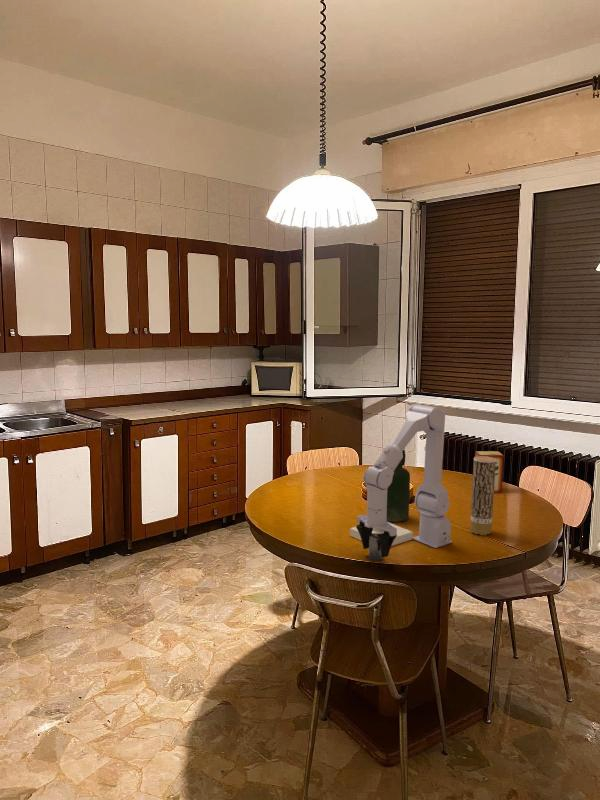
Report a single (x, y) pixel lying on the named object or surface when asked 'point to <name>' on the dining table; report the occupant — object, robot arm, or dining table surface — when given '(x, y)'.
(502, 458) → the baking soda box
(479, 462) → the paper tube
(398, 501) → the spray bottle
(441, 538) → the robot arm
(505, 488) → the dining table surface
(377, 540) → the peg
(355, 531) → the socket
